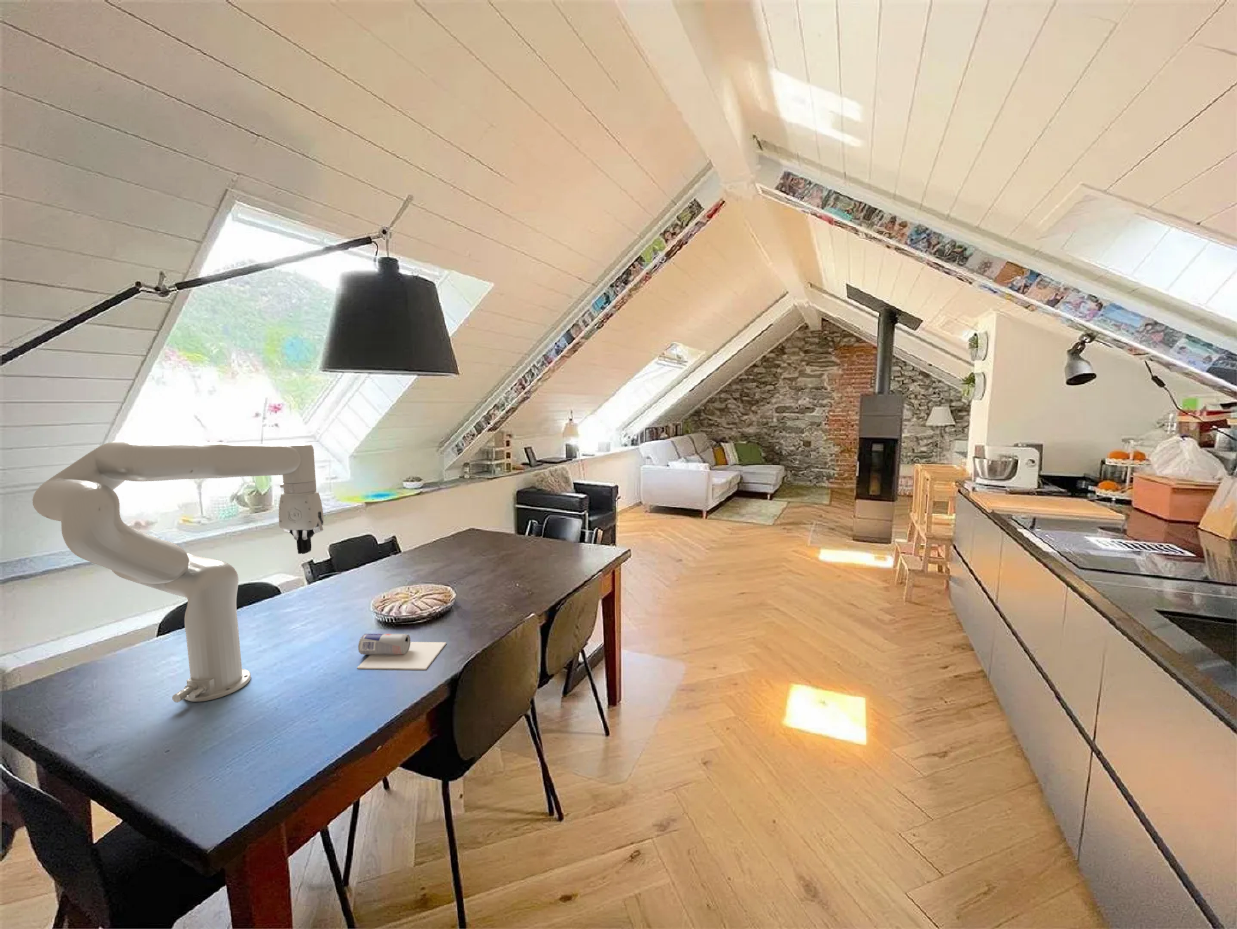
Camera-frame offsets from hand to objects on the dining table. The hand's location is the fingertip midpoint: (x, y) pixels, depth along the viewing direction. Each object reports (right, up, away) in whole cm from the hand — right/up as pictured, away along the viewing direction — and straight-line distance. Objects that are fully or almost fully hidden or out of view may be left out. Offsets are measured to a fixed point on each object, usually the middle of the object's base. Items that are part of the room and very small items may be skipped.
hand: (304, 552), depth 135 cm
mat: (+29, -28, -3) cm, 41 cm away
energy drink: (+18, -25, -3) cm, 31 cm away
